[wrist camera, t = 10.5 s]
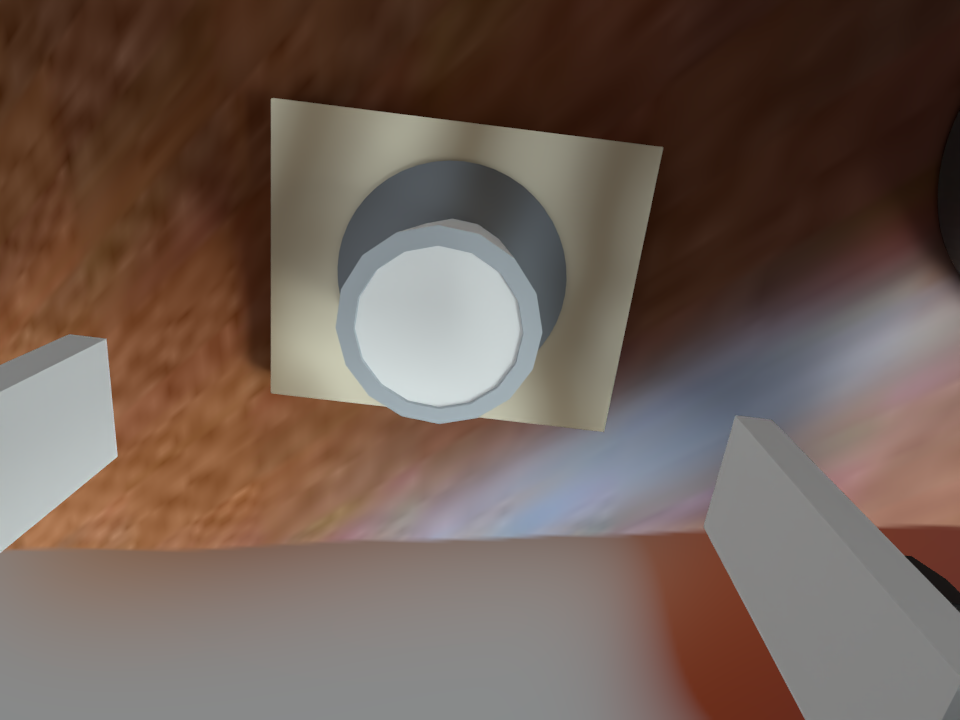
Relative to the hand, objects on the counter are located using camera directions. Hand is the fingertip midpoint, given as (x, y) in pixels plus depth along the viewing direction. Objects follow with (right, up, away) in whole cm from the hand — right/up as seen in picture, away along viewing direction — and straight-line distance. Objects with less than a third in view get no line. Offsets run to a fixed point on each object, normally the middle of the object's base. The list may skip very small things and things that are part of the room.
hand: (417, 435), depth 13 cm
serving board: (0, +6, +16) cm, 17 cm away
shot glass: (0, +5, +14) cm, 15 cm away
